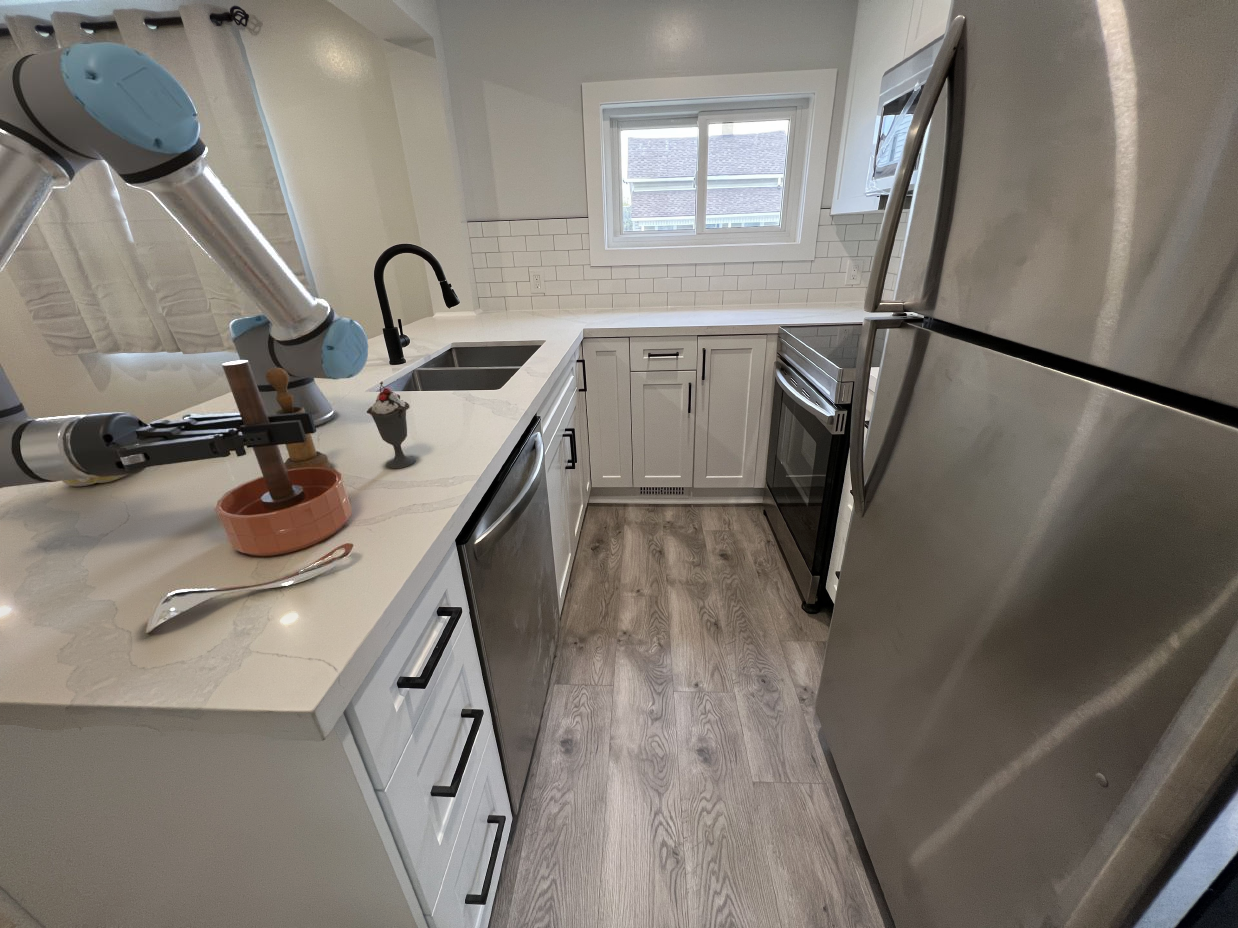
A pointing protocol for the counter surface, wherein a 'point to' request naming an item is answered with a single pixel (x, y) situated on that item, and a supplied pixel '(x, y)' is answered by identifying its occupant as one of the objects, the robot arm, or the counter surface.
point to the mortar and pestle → (279, 379)
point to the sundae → (392, 424)
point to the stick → (267, 456)
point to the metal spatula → (235, 589)
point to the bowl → (285, 513)
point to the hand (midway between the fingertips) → (307, 426)
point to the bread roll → (92, 480)
